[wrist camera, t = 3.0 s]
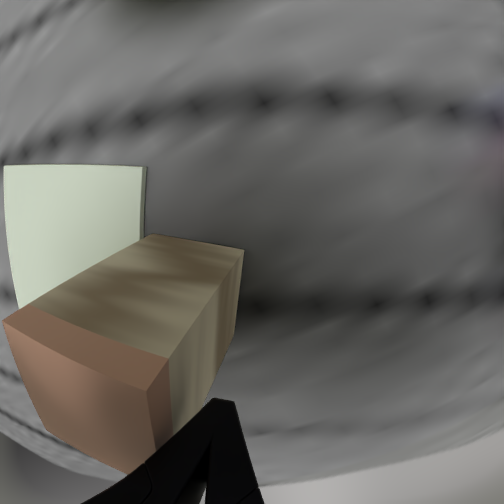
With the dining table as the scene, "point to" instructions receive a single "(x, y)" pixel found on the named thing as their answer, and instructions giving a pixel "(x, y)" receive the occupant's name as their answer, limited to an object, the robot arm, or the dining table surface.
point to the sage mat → (68, 220)
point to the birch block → (129, 346)
